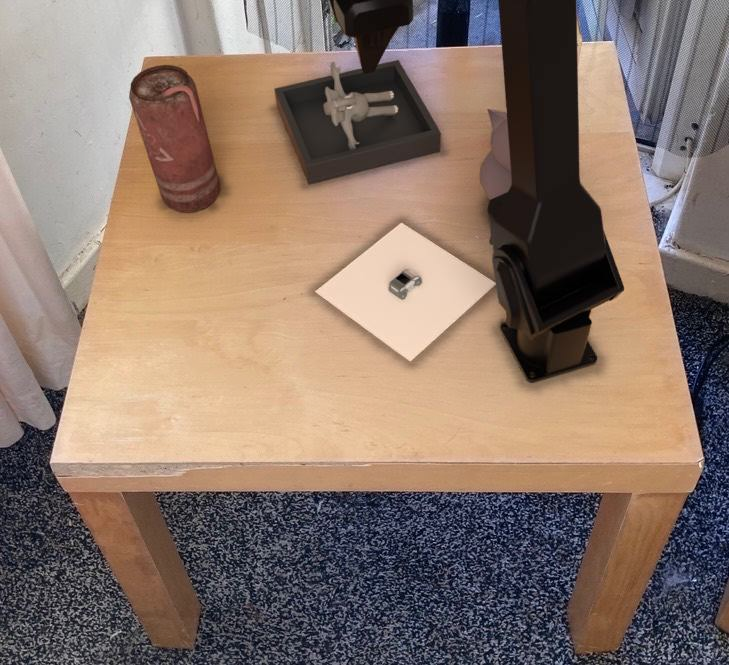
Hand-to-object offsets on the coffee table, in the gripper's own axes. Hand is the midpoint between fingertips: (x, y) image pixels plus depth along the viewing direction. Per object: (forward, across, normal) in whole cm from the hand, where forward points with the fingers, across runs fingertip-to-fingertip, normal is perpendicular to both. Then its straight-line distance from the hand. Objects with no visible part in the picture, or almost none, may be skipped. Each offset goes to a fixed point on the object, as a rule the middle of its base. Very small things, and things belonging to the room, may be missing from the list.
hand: (354, 46), depth 85 cm
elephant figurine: (+10, -1, 0) cm, 10 cm away
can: (+11, +3, -19) cm, 22 cm away
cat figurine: (+11, +17, +11) cm, 23 cm away
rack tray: (+11, -1, 0) cm, 11 cm away
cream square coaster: (+11, +23, -3) cm, 25 cm away
